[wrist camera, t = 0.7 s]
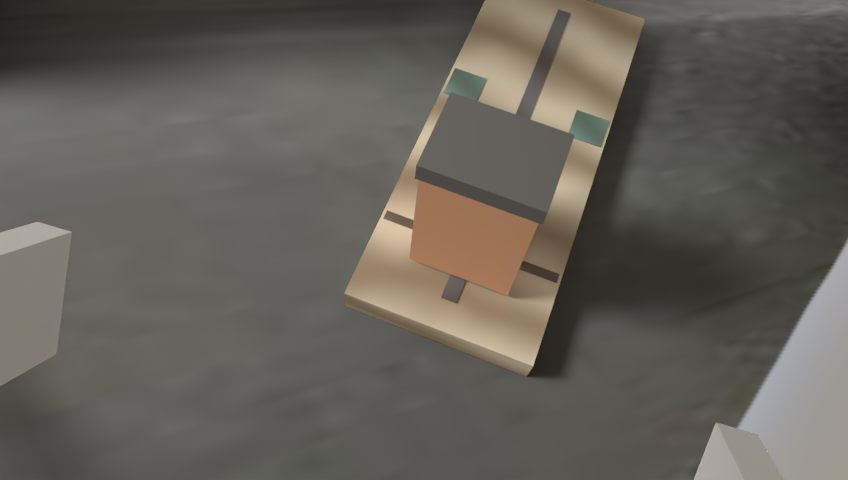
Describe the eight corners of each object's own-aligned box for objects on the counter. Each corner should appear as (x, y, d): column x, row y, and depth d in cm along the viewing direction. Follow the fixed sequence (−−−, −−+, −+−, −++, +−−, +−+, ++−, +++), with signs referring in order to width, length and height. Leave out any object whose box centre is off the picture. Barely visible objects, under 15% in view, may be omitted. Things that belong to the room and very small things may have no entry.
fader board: (526, 376, 44) (533, 365, 42) (345, 306, 45) (344, 292, 44) (636, 37, 58) (645, 18, 56) (494, -10, 59) (498, -30, 57)
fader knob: (510, 296, 44) (547, 212, 35) (406, 257, 45) (416, 165, 36) (534, 229, 46) (574, 134, 37) (434, 193, 47) (450, 91, 38)
